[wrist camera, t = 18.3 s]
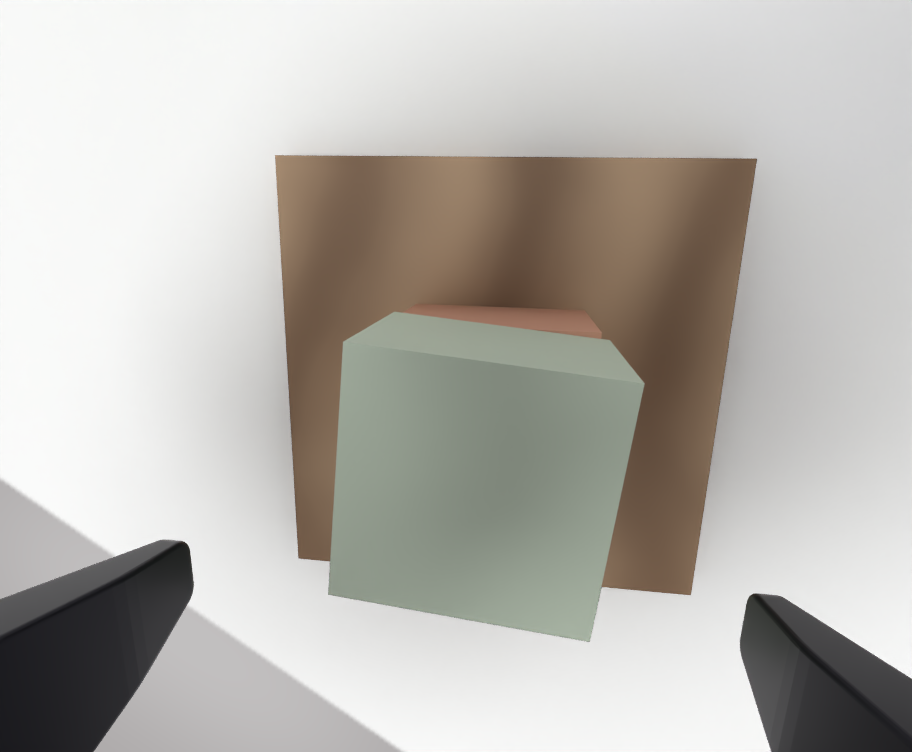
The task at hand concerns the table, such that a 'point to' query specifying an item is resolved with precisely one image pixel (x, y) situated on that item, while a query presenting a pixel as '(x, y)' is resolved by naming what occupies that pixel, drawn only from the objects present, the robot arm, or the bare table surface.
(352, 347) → the sage brick
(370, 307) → the board
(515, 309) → the terracotta brick
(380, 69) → the table surface
